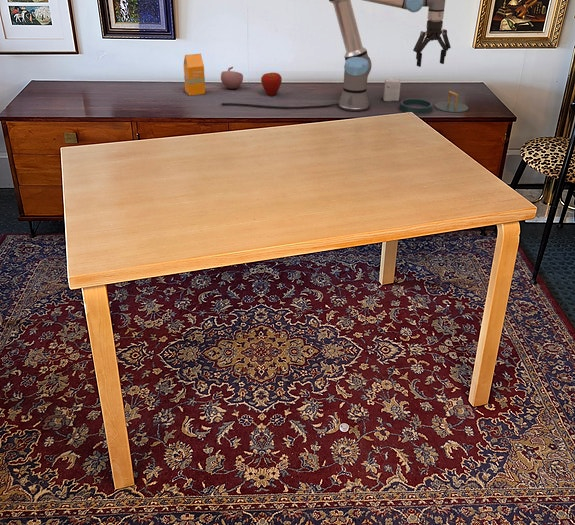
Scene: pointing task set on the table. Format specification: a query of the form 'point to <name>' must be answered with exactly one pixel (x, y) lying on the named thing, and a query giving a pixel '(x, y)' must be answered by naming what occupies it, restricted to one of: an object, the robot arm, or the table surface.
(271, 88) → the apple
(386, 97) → the small box
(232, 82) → the decorative fruit
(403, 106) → the tin
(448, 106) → the tin lid
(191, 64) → the orange juice
